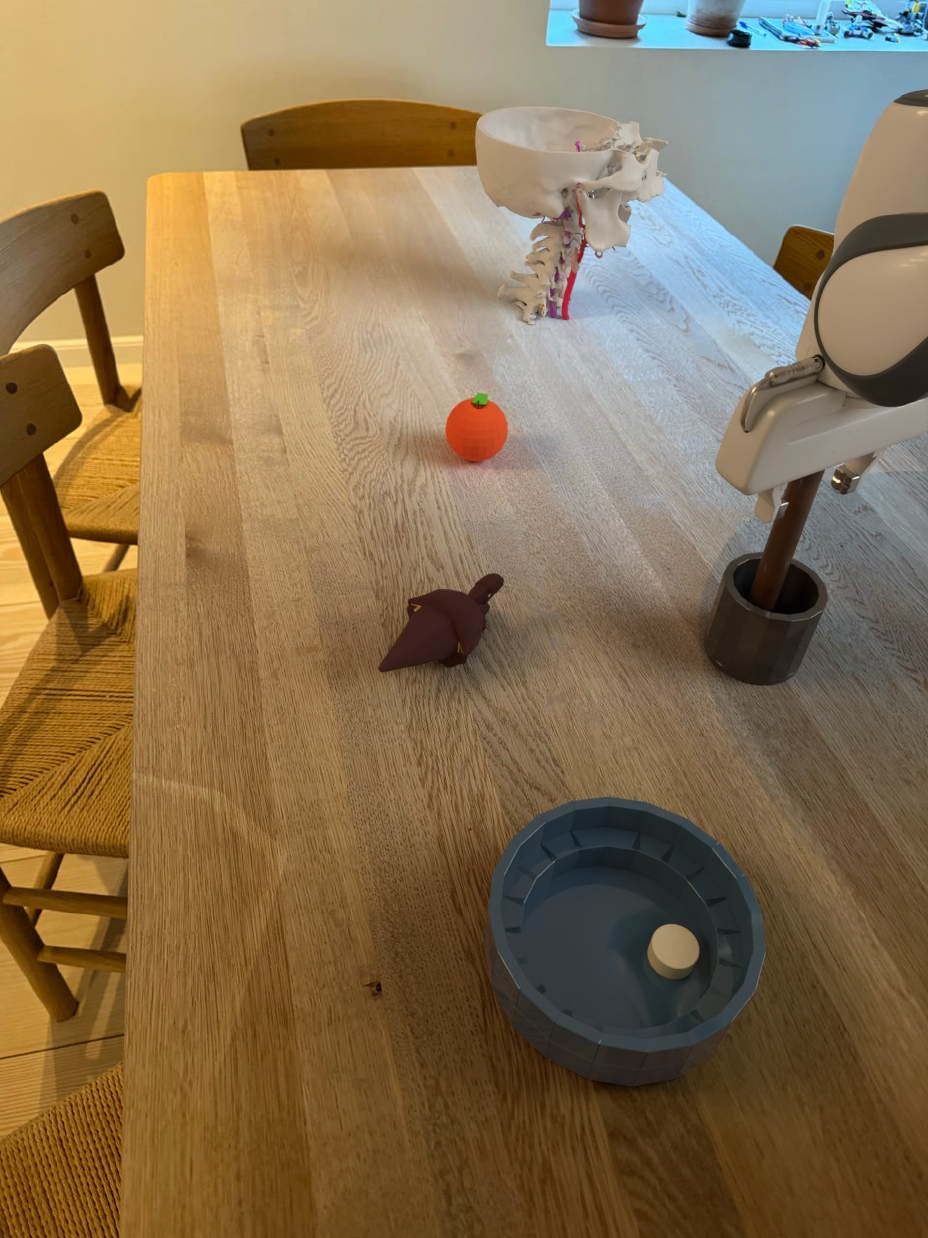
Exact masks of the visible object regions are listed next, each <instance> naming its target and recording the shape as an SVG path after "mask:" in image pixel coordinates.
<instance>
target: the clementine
mask: <svg viewBox="0 0 928 1238" xmlns="http://www.w3.org/2000/svg"><path fill="white" fill-rule="evenodd" d="M444 430H445V437H446V440H447V443H448V445H449V447H450V448H451V450H452V451H453V452H454V453H455V454H456V455H457V456H458V457H460V458H461V459H464V460H466V461H470V462H483V461H488V460H490V459H492V458H493V457H494V456H496V455H497V454H499V452H501V450H502V448H503V447H504V445H505V444H506V442H507V438H508V433H509V423H508V420H507V417H506V415H505V412H504V411H503V410H502V408H500V406H498V404H497V403H495V402H494V401H492V400H490V399H489V394H488V393H483V392H479V393H477V394H476V395H475V396H474V397H470V398H467V399H465V400H462V401H460V402H458V404H456V405H455V406H454V407H453V408H452V409H451V411H450V413H449V414H448V416H447V418H446V423H445V429H444Z"/></svg>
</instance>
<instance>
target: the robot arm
mask: <svg viewBox="0 0 928 1238" xmlns="http://www.w3.org/2000/svg"><path fill="white" fill-rule="evenodd" d="M874 123H875V124H874V125H873V126H872V128H871V130H870V133H868V136H867V138H866V140H865V143H864V145H863V147H862V148H861V149H862V150H861V151H860V154H859V157H858V159H857V161H856V163H855V166H854V169H853V171H852V174H851V177H850V180H849V182H848V185H847V187H846V190H845V193H844V197H843V200H842V202H841V206H840V209H839V211H838V215H837V218H836V221H835V225H834V231H833V249H832V253H831V257H830V259H829V262H828V264H827V266H826V268H825V269H824V271H823V272H822V274H821V275H820V277H819V279H818V280H817V283H816V285H815V287H814V290H813V293H812V297H811V300H810V302H809V303H810V304H809V306H808V309H807V312H806V316H805V319H804V320H803V321H804V322H803V324H802V328H801V331H800V334H799V337H798V341H797V343H796V347H795V350H794V354H795V355H794V356H795V359H796V361H795V362H793V363H791V364H788V365H780V366H776V367H773V368H771V369H770V370H767V371H765V372H766V373H765V374H764V377H763V378H761V380H759V381H757V382H755V383H754V384H753V385H751V386H750V387H749V388H748V389H746V391H745V392H744V393H743V395H742V396H741V398H740V399H739V401H738V403H737V404H736V407H735V409H734V411H733V412H732V415H731V418H730V420H729V422H728V425H727V427H726V430H725V432H724V435H723V437H722V440H721V442H720V445H719V448H718V451H717V454H716V457H715V461H714V467H715V470H716V471H717V473H718V475H719V476H720V477H721V478H722V479H723V480H724V481H726V482H727V484H729V485H730V486H732V487H733V488H734V489H735V490H737V491H738V492H740V493H741V494H742V495H744V496H748V497H749V496H750V497H751V496H754V495H757V496H758V497H757V500H756V503H755V506H754V509H753V510H754V515H755V516H756V517H757V518H758V519H760V521H762V522H763V523H765V524H767V525H768V524H771V523H773V522H774V521H776V520H778V519H781V518H783V517H784V515H785V514H784V512H785V510H786V509H787V506H788V503H789V502H787V501H786V500H785V499H784V498H782V496H781V492H782V491H784V490H785V489H786V487H787V484H788V482H791V481H793V480H796V479H799V478H802V477H805V476H808V475H810V474H813V473H816V472H819V471H822V470H824V469H825V470H827V469H830V468H833V467H835V470H834V472H833V477H832V478H831V479H830V485H831V487H832V489H833V490H835V491H838V493H839V494H841V495H842V496H845V495H848V494H851V493H854V492H857V491H858V490H860V488H861V486H862V484H863V481H864V479H865V476H866V475H867V474H868V473H869V472H870V471H871V470H872V468H873V467H874V466H875V465H876V464H877V463H878V461H879V460H881V458H882V457H883V456H884V455H885V453H886V451H887V448H889V447H891V446H895V445H897V444H900V443H904V442H906V441H908V440H911V439H914V438H918V437H920V436H923V435H924V434H926V432H928V88H926V89H919V90H914V91H910V92H907V93H904V94H902V95H900V96H899V97H898V98H896V99H894V100H892V101H891V102H890V103H889V104H888V105H887V106H886V107H885V108H884V110H883V111H882V113H881V114H880V115H879V117H878V119H877V120H876V121H875V122H874ZM841 464H842V465H841ZM838 465H839V466H838ZM836 466H837V467H836Z"/></svg>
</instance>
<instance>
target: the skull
mask: <svg viewBox="0 0 928 1238" xmlns="http://www.w3.org/2000/svg"><path fill="white" fill-rule="evenodd" d="M640 134H641V133H640V123H639V122H637V121H634V120H633V121H632V120H629V122H628V123H625V122H620V121H618V120H615V119H613V118H611V117H608V116H605V115H601V114H598V113H595V112H591V111H587V110H583V109H574V108H566V107H558V106H540V105H539V106H537V105H535V106H534V105H533V106H531V105H529V106H528V105H527V106H525V105H524V106H512V107H504V108H500V109H495V110H491V111H489V112H486V113H485V114H483V115H481V116H480V117H479V118H478V120H477V122H476V127H475V138H474V147H475V155H476V168H477V172H478V177H479V180H480V182H481V186H482V188H483V191H484V193H485V195H486V196H487V197H488V198H489V200H490V201H491V202H492V203H493V204H494V205H495V207H497V208H500V207H504V208H506V209H507V210H508V211H509V212H511V213H513V214H515V215H517V216H520V217H523V218H527V219H530V220H531V219H532V220H537V219H542V220H541V222H540V223H538V224H536V225H535V226H534V228H533V229H532V231H531V233H530V234H529V239H530V241H531V242H534V241H535V240H536V239H537V238H539V237H543V238H542V239H541V240H538V241H536V242H534V243H533V244H532V245H531V249H532V251H531V252H529V253H528V254H526V255H525V259H526V260H524V262H523V263H524V267H529V269H531V270H532V271H533V272H535V273H530V274H529V273H519V272H516V271H510V272H509V278H510V279H512V280H515V281H517V282H520V283H523V284H524V285H525V286H524V287H513V288H512V287H509V286H508V284H506V283H503V284H502V285H501V286H500V287H499V289H498V290H497V293H496V297H497V298H498V299H499V300H503V299H505V298H514V299H518V301H514V302H513V304H515V305H517V306H518V307H520V308H521V309H522V310H524V311H523V314H522V321H523V322H526V323H527V324H528V325H536V324H537V322H536V321H535V319H537V316H536V313H537V312H538V314H539V315H538V316H539V319H541V315H542V316H543V317H546V316H547V313H549V316H550V317H551V318H558V313H557V309H559V310H561V317H562V320H565V321H568V320H570V316H569V315H570V314H569V303H570V301H571V300H572V299H571V297H572V292H573V289H574V286H575V283H576V279H577V276H578V272H579V270H580V263H581V262H582V260H583V257H584V255H585V250H586V248H591V249H592V251H594V256H595V257H596V258H598V259H602V258H603V254H604V253H605V252H606V251H607V250H610V249H612V250H613V251H614V252H616V248H615V247H617V248H618V247H619V248H627V246H628V243H629V239H630V236H631V231H632V225H631V224H630V223H628V221H629V220H630V217H631V215H632V211H633V209H632V208H633V207H632V206H631V205H630V204H629V202H633V201H636V200H637V201H638V202H641V203H647V202H649V201H651V200H652V199H653V198H656V197H660V196H662V195H663V194H664V192H665V191H666V187H665V183H664V177H665V176H667V175H668V173H667V172H663V171H661V170H659V169H658V161H659V160H658V159H659V155H660V153H661V151H662V150H663V149H664V148H665V147H666V146H668V145H669V141H667V140H664V139H660V138H654V137H653V136H651V137H644V141H643V139H642V137H641V135H640ZM546 218H547V219H549V220H545V219H546ZM583 221H584V224H583ZM540 248H542V249H540ZM598 253H600V254H598ZM525 304H526V305H525Z"/></svg>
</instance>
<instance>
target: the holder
mask: <svg viewBox="0 0 928 1238" xmlns="http://www.w3.org/2000/svg"><path fill="white" fill-rule="evenodd" d="M763 552H764V551H757V552H750V553H743V554H741V555H739V556H738V557H736V558H734V559H732V560H730V561H729V562H728V564H727V566H726V567H725V569H724V571H723V573H722V576H721V579H720V583H719V586H718V588H717V592H716V595H715V598H714V602H713V605H712V608H711V611H710V614H709V618H708V620H707V624H706V627H705V629H704V630H705V631H704V636H703V649H704V651H705V653H706V655H707V657H708V658H709V660H710V662H711V663H713V665H714V666H715V667H716V668H717V669H719V670H720V671H721V672H723V673H724V674H726V675H727V676H729V677H731V678H733V679H736V680H737V681H740V682H743V683H746V684H751V685H757V686H758V685H759V686H771V685H778V684H781V683H783V682H784V683H785V682H786V681H789V680H790V679H791V678H792V677H794V676H795V675H796V673H798V671H799V668H800V666H801V665H802V662H803V660H804V658H805V656H806V653H807V650H808V649H809V646H810V644H811V642H812V639H813V637H814V634H815V632H816V629H817V628H818V627H817V626H818V625H819V623H820V621H821V618H822V616H823V613H824V611H825V609H826V606H827V604H828V601H829V593H828V589H827V585H826V584H825V581H824V580H822V578H821V577H820V575H819V574H818V573H817V572H816V571H815V570H813V569H812V568H811V567H810V566H808V565H806V564H805V563H803V562H802V561H800V560H798V559H795V558H794V557H793V558H792V561H791V564H790V566H789V569H788V572H787V574H786V577H785V580H784V583H783V585H782V588H781V591H780V593H779V596H778V599H777V602H776V604H775V607H774V610H773V612H772V613H771V612H769V611H766V610H764V609H761V608H758V607H756V606H754V605H752V604H751V603H750V602H748V601H747V599H748V596H749V593H750V590H751V587H752V584H753V581H754V578H755V575H756V572H757V569H758V566H759V563H760V560H761V558H762V555H763Z"/></svg>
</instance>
